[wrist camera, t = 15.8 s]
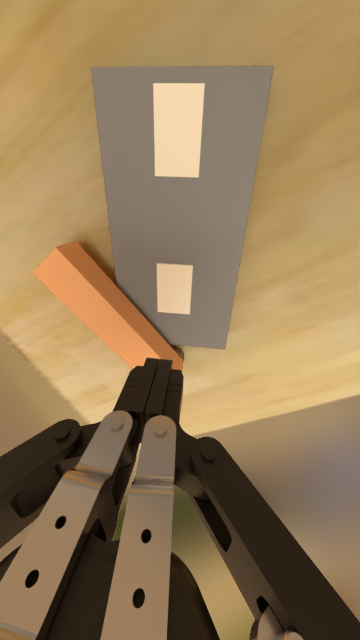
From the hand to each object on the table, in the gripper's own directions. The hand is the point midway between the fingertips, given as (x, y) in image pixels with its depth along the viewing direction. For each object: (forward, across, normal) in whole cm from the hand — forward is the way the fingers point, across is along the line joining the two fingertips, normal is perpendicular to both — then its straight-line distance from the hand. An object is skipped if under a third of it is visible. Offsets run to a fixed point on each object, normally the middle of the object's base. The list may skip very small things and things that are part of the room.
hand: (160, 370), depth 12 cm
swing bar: (+13, +6, +5) cm, 15 cm away
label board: (+16, +1, -2) cm, 16 cm away
